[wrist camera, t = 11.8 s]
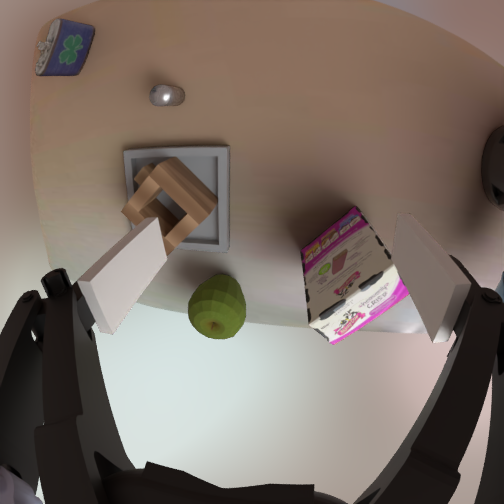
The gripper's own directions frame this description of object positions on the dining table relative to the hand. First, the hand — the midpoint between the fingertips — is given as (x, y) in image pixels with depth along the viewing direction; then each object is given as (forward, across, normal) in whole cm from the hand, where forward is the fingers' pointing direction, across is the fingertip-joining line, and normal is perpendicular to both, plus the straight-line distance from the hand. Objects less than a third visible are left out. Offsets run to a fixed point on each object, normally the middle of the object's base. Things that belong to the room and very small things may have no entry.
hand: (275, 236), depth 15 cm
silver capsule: (+24, +14, -10) cm, 30 cm away
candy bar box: (+25, -7, +12) cm, 29 cm away
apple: (+25, +10, +20) cm, 33 cm away
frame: (+24, +16, +4) cm, 29 cm away
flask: (+24, +30, -23) cm, 45 cm away
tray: (+24, +16, +4) cm, 29 cm away
